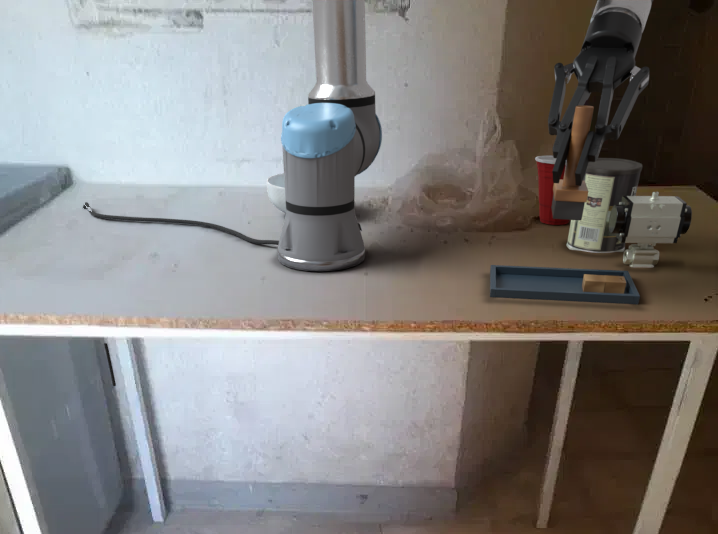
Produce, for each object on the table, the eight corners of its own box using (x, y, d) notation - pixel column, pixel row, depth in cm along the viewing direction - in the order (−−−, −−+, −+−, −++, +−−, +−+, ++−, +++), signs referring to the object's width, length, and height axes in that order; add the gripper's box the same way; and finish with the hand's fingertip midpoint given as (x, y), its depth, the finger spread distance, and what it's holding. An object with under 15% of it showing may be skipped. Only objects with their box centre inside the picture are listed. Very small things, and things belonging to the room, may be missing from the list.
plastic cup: (582, 215, 150) (593, 151, 143) (582, 230, 141) (594, 163, 134) (528, 212, 152) (536, 149, 145) (525, 226, 143) (534, 160, 136)
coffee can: (621, 240, 135) (638, 158, 127) (627, 257, 127) (646, 170, 119) (564, 237, 137) (577, 156, 129) (566, 254, 129) (581, 168, 121)
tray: (489, 300, 111) (490, 289, 110) (489, 275, 120) (490, 264, 119) (637, 308, 108) (640, 296, 107) (625, 281, 117) (628, 270, 116)
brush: (551, 219, 105) (569, 109, 97) (549, 207, 111) (566, 102, 103) (582, 221, 104) (604, 110, 96) (579, 208, 110) (599, 103, 102)
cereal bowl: (333, 229, 143) (333, 190, 139) (255, 222, 147) (253, 185, 143) (358, 207, 156) (359, 172, 152) (286, 202, 161) (284, 168, 156)
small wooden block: (603, 293, 111) (605, 281, 110) (601, 286, 114) (604, 275, 113) (623, 294, 111) (626, 282, 110) (621, 287, 113) (624, 276, 112)
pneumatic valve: (600, 262, 125) (614, 188, 118) (669, 263, 124) (688, 188, 117) (607, 273, 121) (623, 196, 114) (679, 274, 120) (700, 197, 113)
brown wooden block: (583, 292, 112) (585, 280, 111) (581, 285, 114) (584, 274, 113) (603, 293, 111) (605, 281, 110) (601, 286, 114) (604, 275, 113)
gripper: (670, 52, 104) (623, 200, 102) (562, 48, 110) (515, 188, 108) (675, 9, 97) (625, 167, 95) (559, 7, 103) (509, 156, 101)
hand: (566, 178), depth 101 cm, fingers closed on brush, 2 cm apart
